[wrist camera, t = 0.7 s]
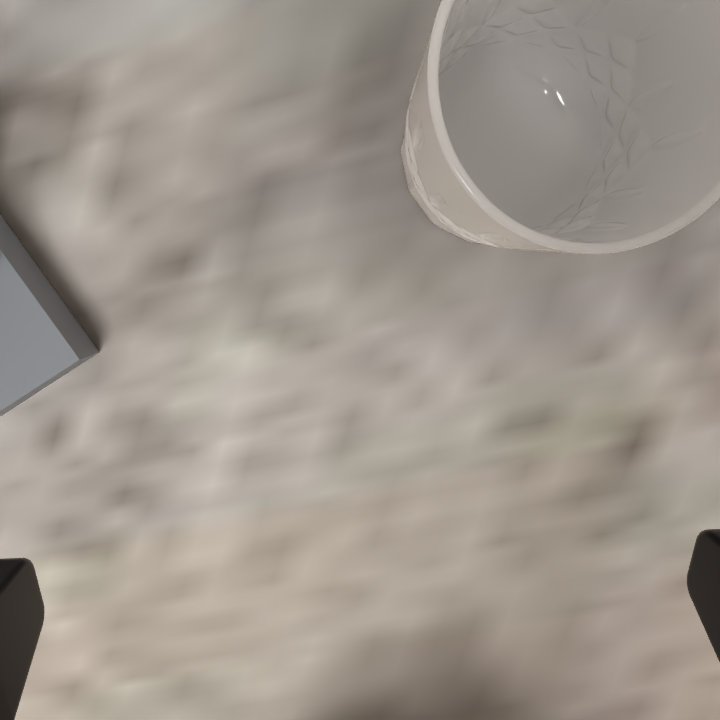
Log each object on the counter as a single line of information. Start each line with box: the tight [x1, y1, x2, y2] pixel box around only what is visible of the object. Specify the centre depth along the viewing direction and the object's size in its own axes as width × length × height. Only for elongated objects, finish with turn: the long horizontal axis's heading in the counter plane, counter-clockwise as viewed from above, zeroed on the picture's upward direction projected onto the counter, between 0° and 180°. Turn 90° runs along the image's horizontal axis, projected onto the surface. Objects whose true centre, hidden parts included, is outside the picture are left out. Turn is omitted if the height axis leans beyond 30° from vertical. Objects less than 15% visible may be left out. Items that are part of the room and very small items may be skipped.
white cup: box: [401, 0, 720, 254], centre depth 19 cm, size 8×8×10 cm
